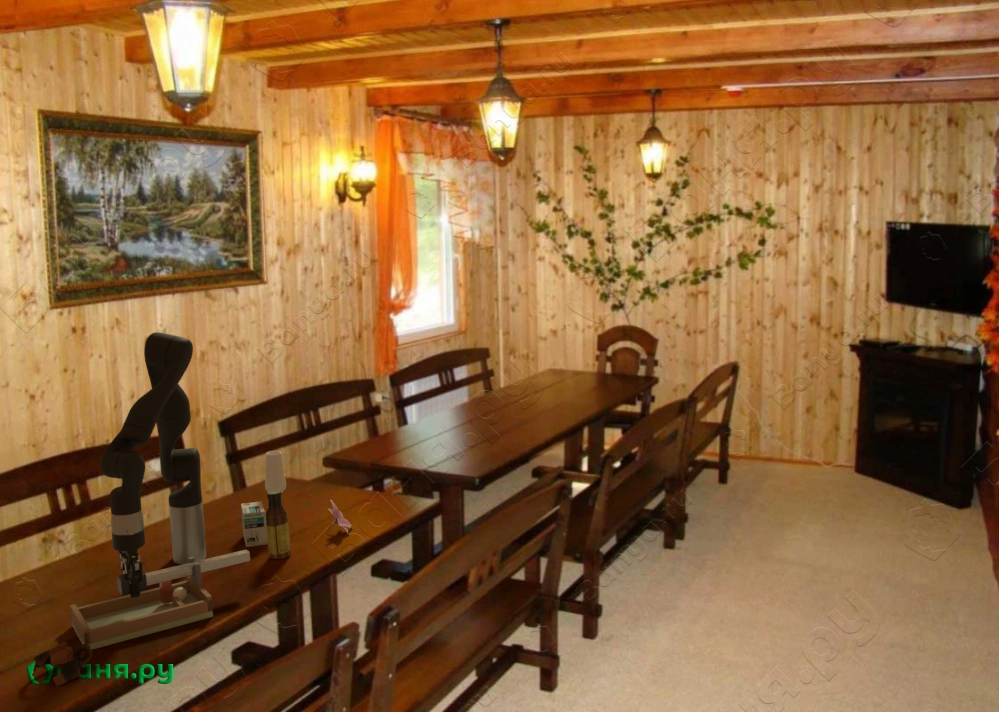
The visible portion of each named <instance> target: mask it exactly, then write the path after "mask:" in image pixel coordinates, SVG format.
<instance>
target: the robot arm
mask: <svg viewBox="0 0 999 712" xmlns="http://www.w3.org/2000/svg"><path fill="white" fill-rule="evenodd" d="M193 352H194V346H193V342H192V341H191V340H190V339H189V338H186V337H183V336H178V335H174V334H169V333H164V332H159V331H158V332H157V331H156V332H152V333H150V334H149V336H147V338H146V340H145V343H144V349H143V355H144V356H143V357H144V362H145V367H146V370H147V371H146V372H147V374H148V378H149V381H150V386H151V389H150V390H149V391H147V392H146V393H144V394H143V395H142V396H141V397H140V398H138V399H137V400H136V401H135V402H134V404H133V405H132V406H131V408H130V409H129V412H128V413H127V416H126V418H125V421H124V422H123V425H122V428H121V430H120V431H119V432H118V434H117V435H115V437H114V438H113V439H112V440H111V442H110V443H109V445H108V446H107V447H106V449H105V450H104V452H103V453H102V455H101V457H100V461H99V468H100V471H101V473H102V474H103V475H104V476H105V477H107V478H112V479H119V480H122V482H121V485H120V486H117V487H115V488H113V489H111V491H110V494H109V505H110V527H111V528H110V529H111V540H112V549H114V550H115V551H117V553H118V556H119V563H120V570H121V572H122V574H127V575H128V578H129V584H130V594H129V595H130V596H131V597H132V598H134V597H139V596H140V585H139V582H142V571H143V562H142V561H141V554H140V553H138V550H139V549H140V548H142V547H144V546H145V545H146V536H145V535H146V534H145V533H146V532H145V521H144V516H143V509H142V502H141V501H142V498H141V492H142V488H143V483H144V482H143V481H144V477H145V474H146V473H145V471H146V461H145V459H144V457H143V455H142V454H141V453H140V452H138V451H135V450H134V449H135V448H136V447H140V446H144V445H147V443H148V442H149V440H150V439H151V437H152V434H153V432H154V429H155V427H156V428H157V435H158V445H159V467H160V473H161V476H162V478H163V480H164V481H165V482H167V483H175V482H186V481H189V482H188V483H187V484H186V485H184V486H183V487H181V488H179V489H177V490H174V491H172V492H171V493H170V494H169V495H168V509H169V521H170V523H169V524H170V535H171V546H172V547H171V548H172V549H171V550H172V558H173V559H172V561H173V563H174V564H177V565H183V564H187V563H188V557H192V556H193V557H194V559H195V562H196V561H200V560H204V559H207V548H206V546H207V545H206V535H205V534H206V533H205V520H204V508H203V507H204V506H203V495H202V483H201V482H202V481H201V477H202V475H201V468H202V467H201V465H202V464H201V455H200V452H199V450H198V449H197V448H195V447H189V448H179V449H174V447H175V445H176V443H177V442H178V440H179V439H180V438H181V436H182V435H183V434H184V433H185V432H186V430H187V428H188V427H189V425H190V423H191V421H192V420H191V418H192V416H191V414H192V413H191V406H190V400H189V397H188V395H187V394H186V392H185V391H184V389H183V388H182V387H181V385H180V384H179V382H180V381H181V380H182V377H184V375H185V372H186V371H187V370H188V367H189V365H190V363H191V361H192V358H193ZM135 576H137V578H134V577H135Z"/></svg>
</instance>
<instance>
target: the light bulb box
mask: <svg viewBox="0 0 999 712" xmlns="http://www.w3.org/2000/svg"><path fill="white" fill-rule="evenodd" d="M240 507H241V508H240V509H241V521H242V524H241V525H242V532H243V533H242V534H243V539H244V544H245V547H246V548H249V547H257V546H264V545H265V546H266V545H268V537H267V527H266V512H267V510H266V509H265V507H264V504H263V501H255V502H254V501H253V502H244V503H241V504H240Z"/></svg>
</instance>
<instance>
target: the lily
mask: <svg viewBox="0 0 999 712" xmlns="http://www.w3.org/2000/svg"><path fill="white" fill-rule="evenodd" d="M330 502H331V505H332V508H333V509H332V508H327V510H328V511H329V512H330V513H331V514H332V515H333V522H332V523H331V524H330V525H329V527H328V529H327V530H326V532H327V533H328V532H329V530H330V528H331V527H332V526H333V525H334V524H336V525H338V526H339V527H342V528H343V529H344V530H345V532H346V533H347V534H348V532H349V529H348V528H350V529H351V526H352V527H353V525H352V524H351V523H350V521H349V520H348V519H346V518H345V517H346V516H345V515H343V512H342V511H340V510H339V508H338V507H337V505H336V503H334V501H333V500H332V499H330Z"/></svg>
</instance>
